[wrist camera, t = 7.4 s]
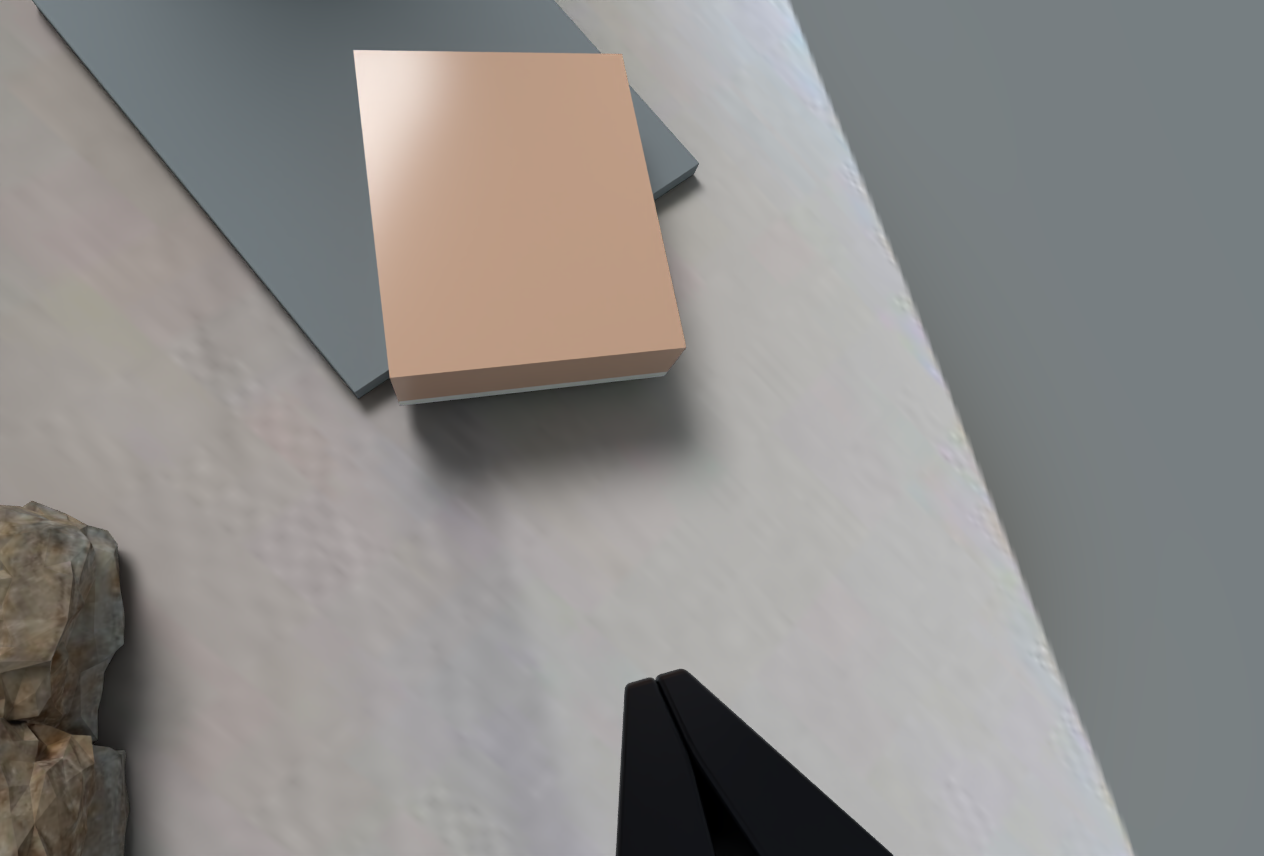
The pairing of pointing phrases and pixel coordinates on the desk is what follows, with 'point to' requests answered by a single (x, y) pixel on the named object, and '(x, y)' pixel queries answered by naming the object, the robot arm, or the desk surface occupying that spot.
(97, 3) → the grey rubber mat
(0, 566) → the flat rock
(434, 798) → the desk surface
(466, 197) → the terracotta tile
